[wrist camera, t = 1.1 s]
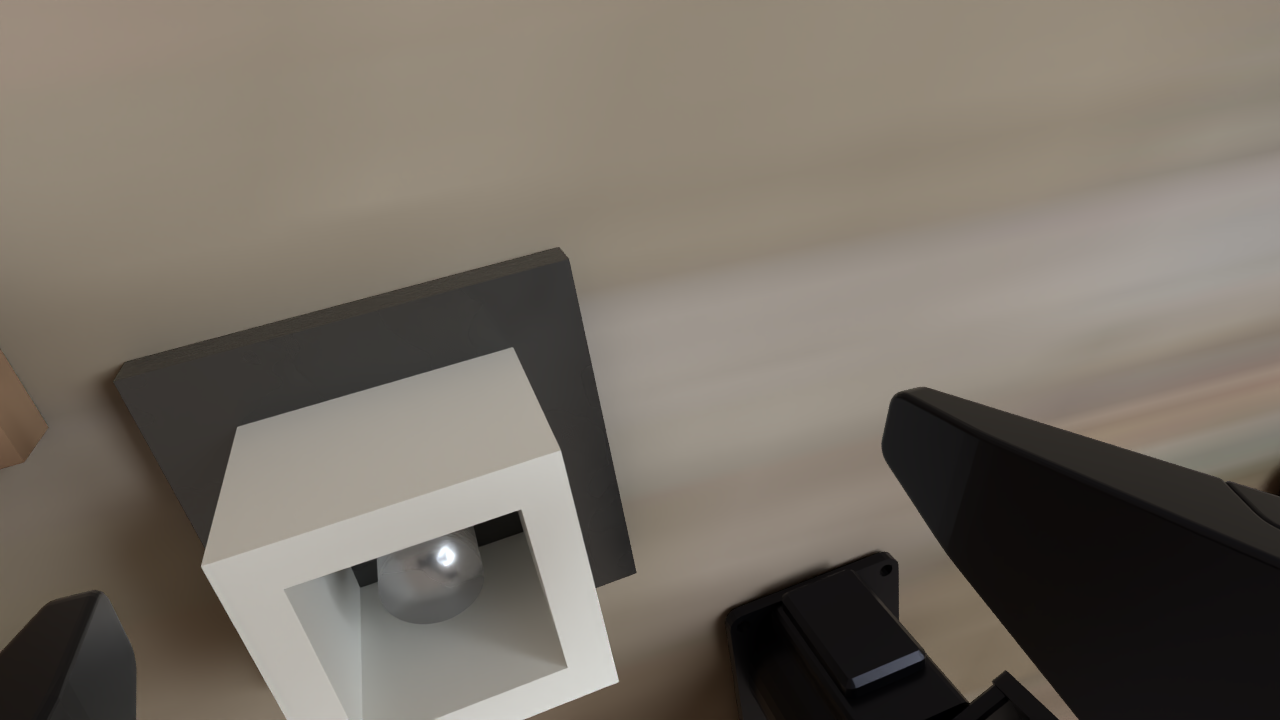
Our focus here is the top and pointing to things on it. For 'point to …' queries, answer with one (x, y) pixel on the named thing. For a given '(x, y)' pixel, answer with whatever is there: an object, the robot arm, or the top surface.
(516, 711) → the collar
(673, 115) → the top surface
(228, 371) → the stand
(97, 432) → the top surface
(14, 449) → the hub
